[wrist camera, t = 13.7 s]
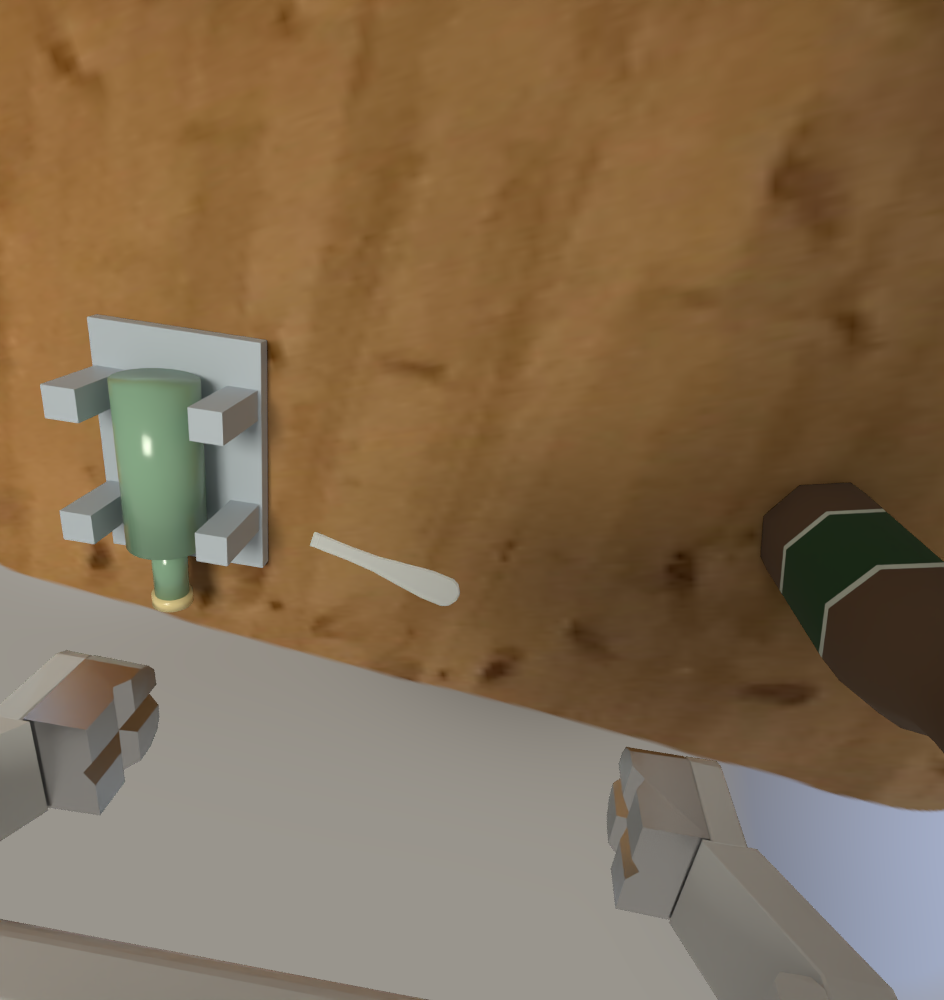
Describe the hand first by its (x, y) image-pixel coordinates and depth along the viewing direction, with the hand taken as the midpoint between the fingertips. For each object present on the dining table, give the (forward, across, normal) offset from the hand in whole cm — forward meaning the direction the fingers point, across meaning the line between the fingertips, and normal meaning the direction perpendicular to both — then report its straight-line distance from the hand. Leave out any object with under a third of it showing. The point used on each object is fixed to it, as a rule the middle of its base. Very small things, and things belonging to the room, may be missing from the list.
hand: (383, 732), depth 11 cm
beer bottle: (+31, -22, +8) cm, 39 cm away
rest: (+31, +20, +9) cm, 38 cm away
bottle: (+30, +20, +11) cm, 38 cm away
